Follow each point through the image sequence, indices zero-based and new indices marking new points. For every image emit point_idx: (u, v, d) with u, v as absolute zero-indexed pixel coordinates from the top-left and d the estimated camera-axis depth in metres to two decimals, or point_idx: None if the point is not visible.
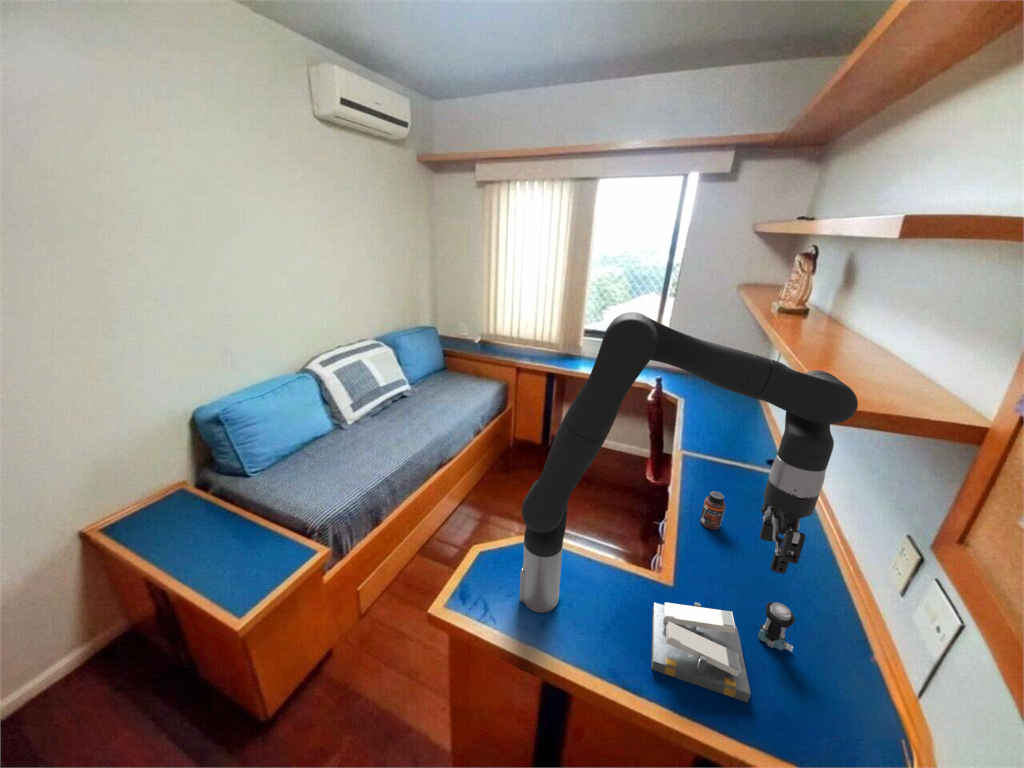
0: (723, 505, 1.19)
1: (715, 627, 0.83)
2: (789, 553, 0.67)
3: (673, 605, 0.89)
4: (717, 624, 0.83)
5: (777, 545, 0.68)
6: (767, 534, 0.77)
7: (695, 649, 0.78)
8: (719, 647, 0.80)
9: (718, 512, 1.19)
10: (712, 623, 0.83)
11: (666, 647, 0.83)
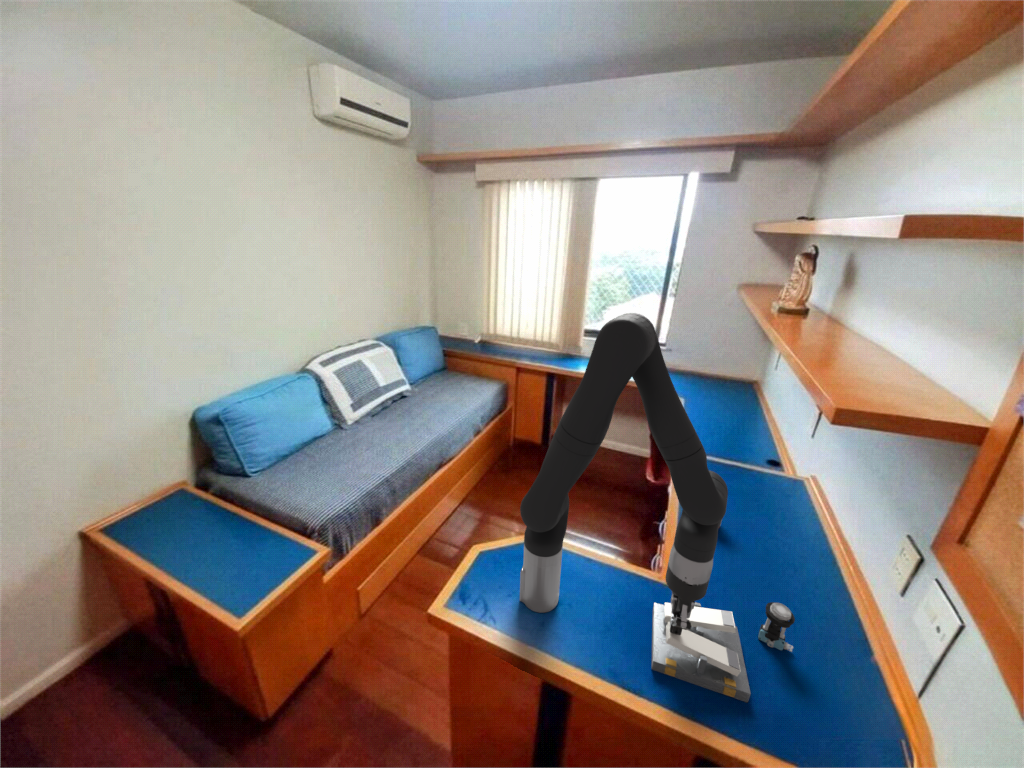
0: None
1: (715, 627, 0.83)
2: None
3: None
4: (717, 624, 0.83)
5: (673, 614, 0.78)
6: None
7: (695, 649, 0.78)
8: (719, 647, 0.80)
9: None
10: (712, 623, 0.83)
11: (666, 647, 0.83)
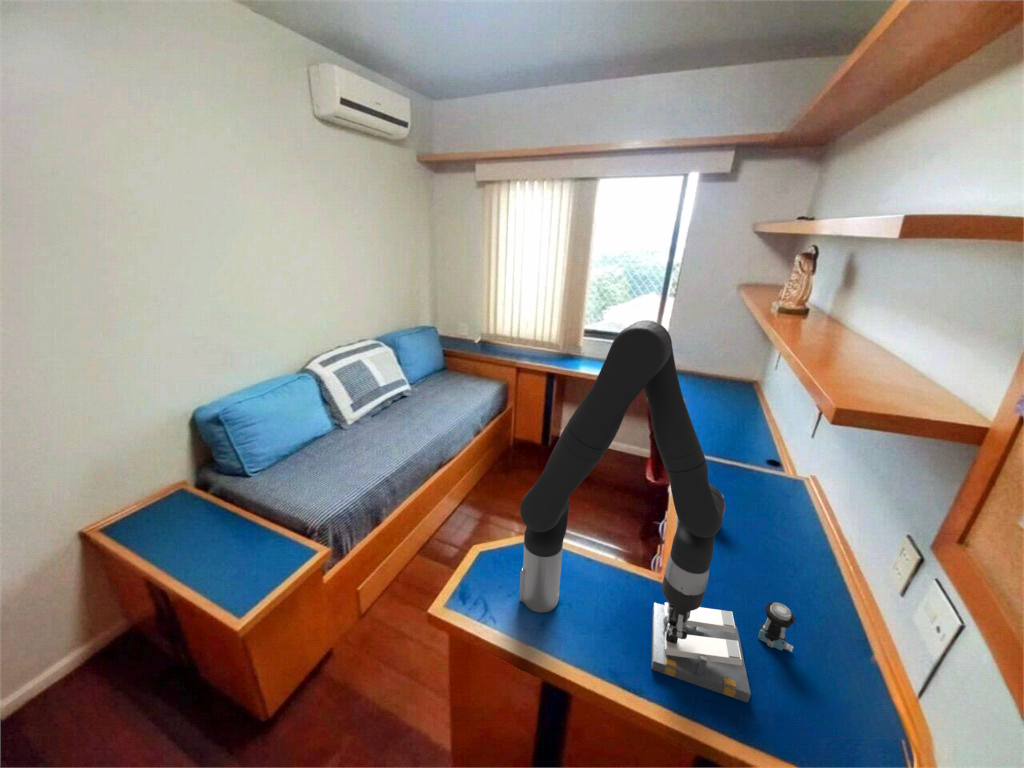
0: None
1: (715, 627, 0.83)
2: None
3: None
4: (717, 624, 0.83)
5: (669, 623, 0.79)
6: None
7: (692, 651, 0.79)
8: (718, 641, 0.79)
9: None
10: (712, 623, 0.83)
11: None
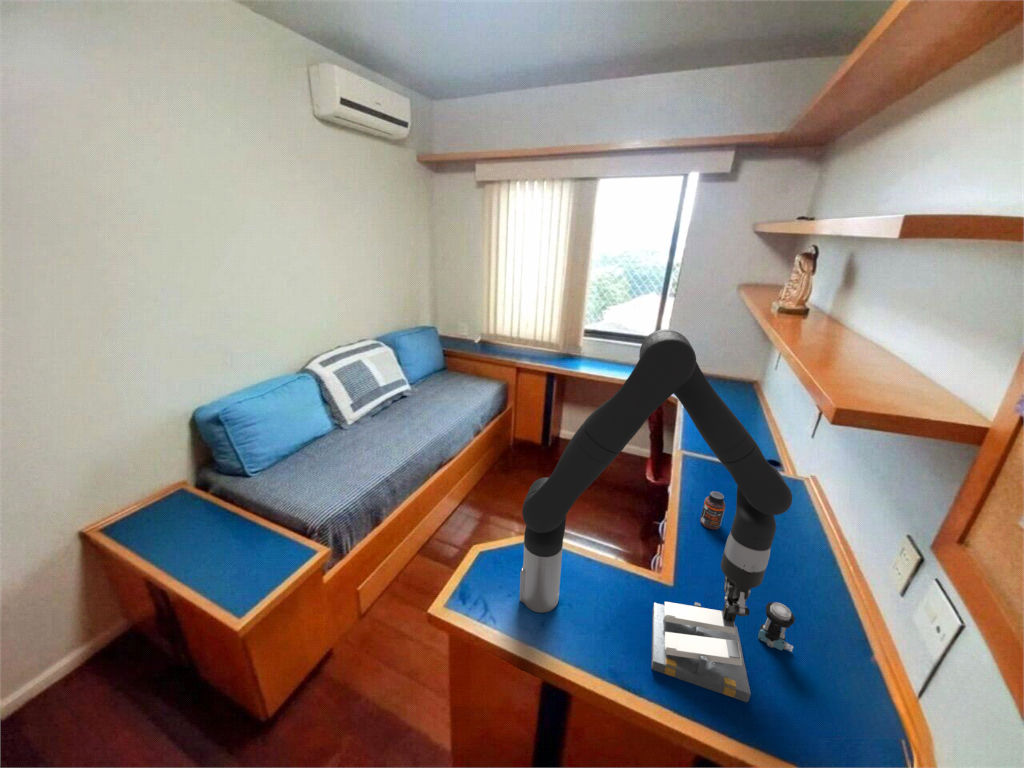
0: (723, 505, 1.19)
1: (715, 628, 0.83)
2: None
3: (673, 604, 0.89)
4: (717, 625, 0.83)
5: (728, 602, 0.81)
6: None
7: (692, 651, 0.78)
8: (718, 641, 0.79)
9: (718, 512, 1.19)
10: (712, 623, 0.83)
11: None
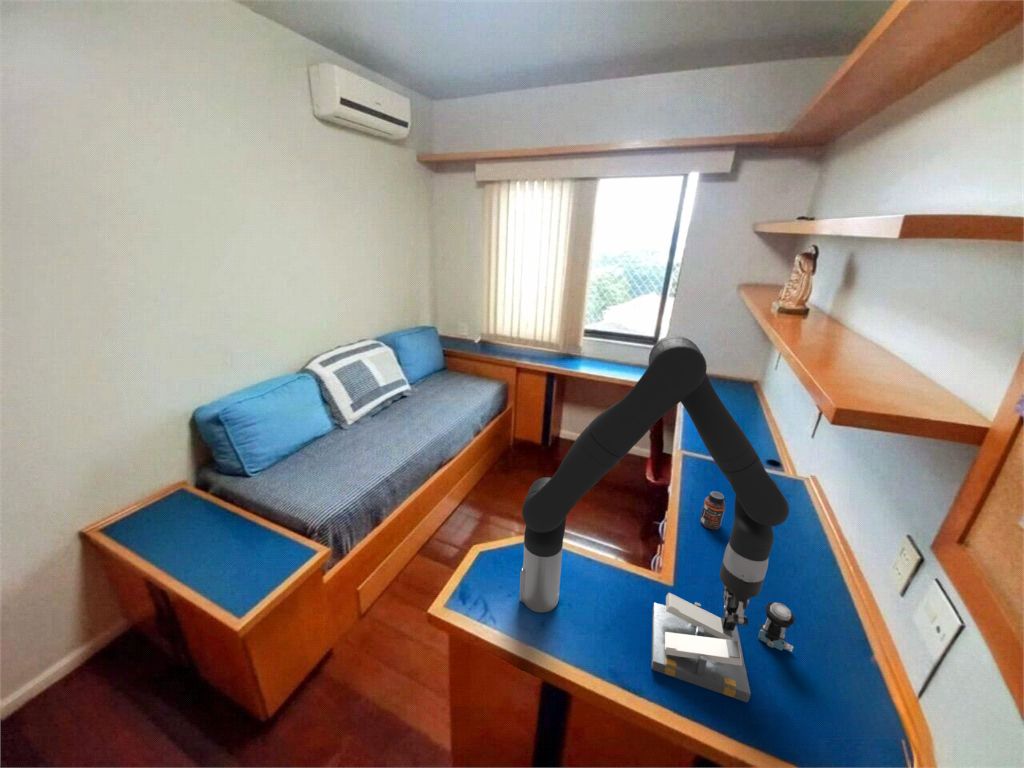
0: (723, 505, 1.19)
1: (713, 632, 0.84)
2: None
3: (677, 598, 0.88)
4: (717, 630, 0.84)
5: (727, 611, 0.82)
6: None
7: (692, 651, 0.78)
8: (718, 641, 0.79)
9: (718, 512, 1.19)
10: (713, 628, 0.84)
11: None
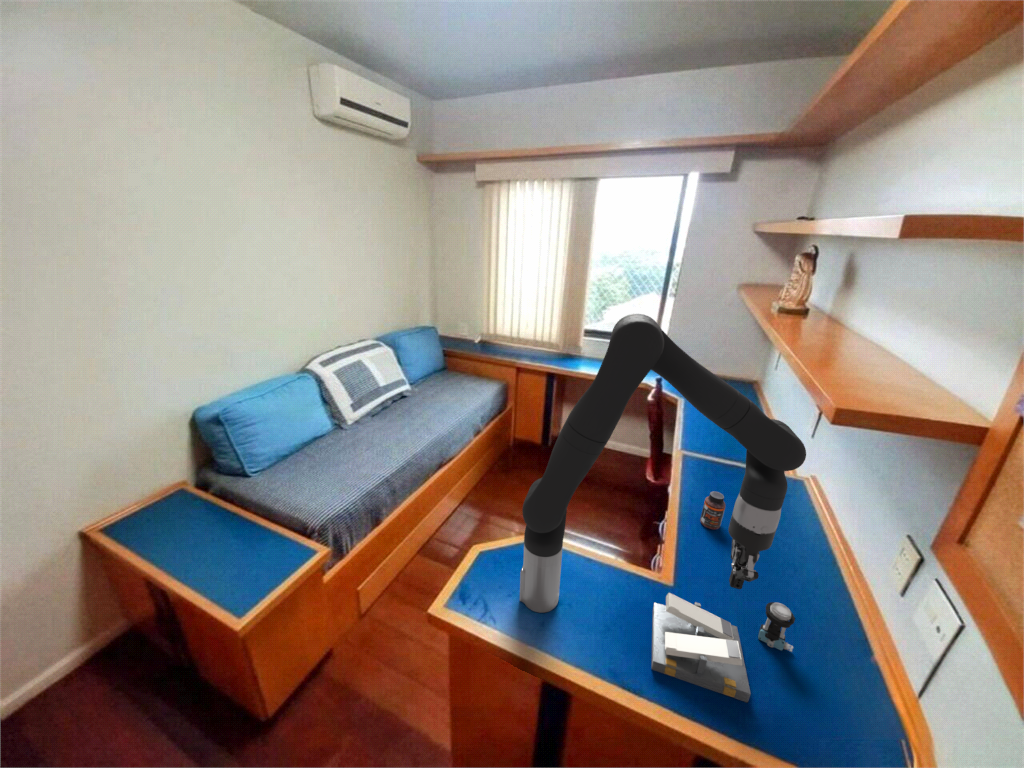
0: (723, 505, 1.19)
1: (713, 632, 0.84)
2: None
3: (677, 598, 0.88)
4: (717, 630, 0.84)
5: (735, 568, 0.78)
6: None
7: (692, 651, 0.78)
8: (718, 641, 0.79)
9: (718, 512, 1.19)
10: (713, 628, 0.84)
11: None
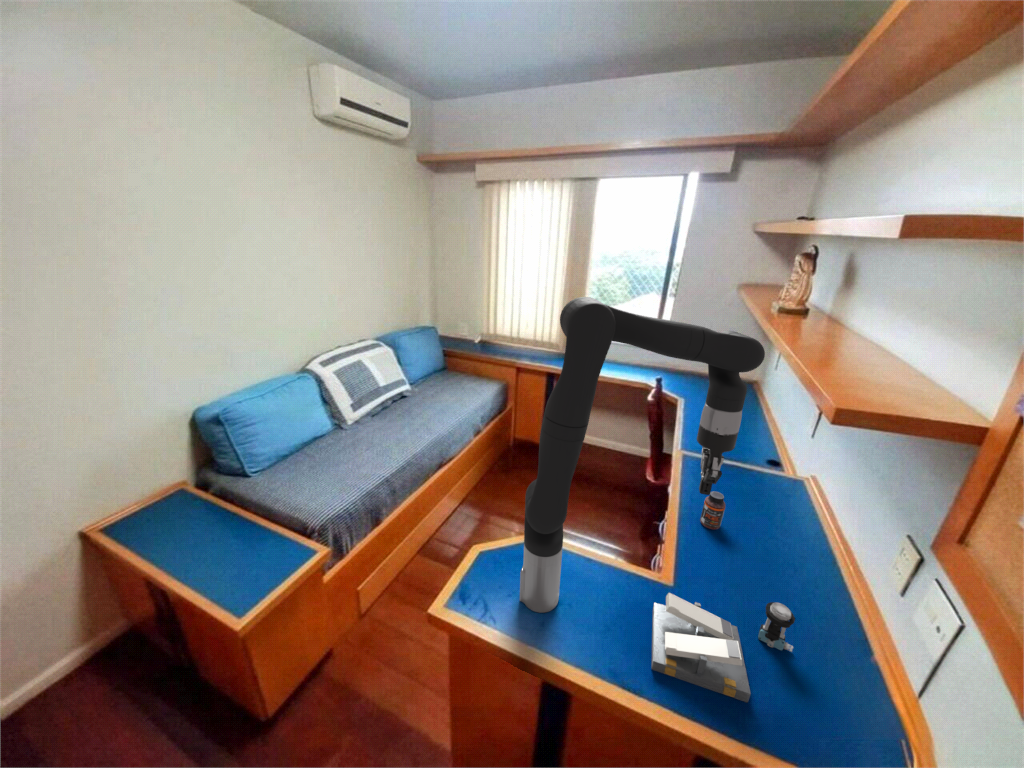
0: (723, 505, 1.19)
1: (713, 632, 0.84)
2: None
3: (677, 598, 0.88)
4: (717, 630, 0.84)
5: (703, 473, 0.86)
6: None
7: (692, 651, 0.78)
8: (718, 641, 0.79)
9: (718, 512, 1.19)
10: (713, 628, 0.84)
11: None
